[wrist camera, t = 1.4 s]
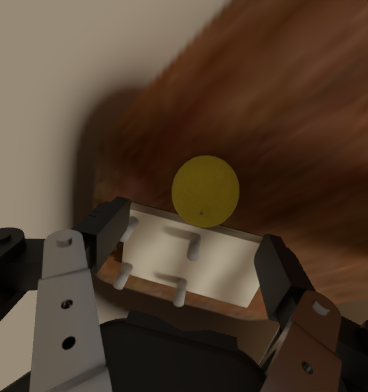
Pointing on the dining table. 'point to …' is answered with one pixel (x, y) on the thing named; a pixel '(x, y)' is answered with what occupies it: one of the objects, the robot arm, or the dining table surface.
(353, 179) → the dining table surface
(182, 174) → the lemon
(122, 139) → the dining table surface
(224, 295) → the peg board
